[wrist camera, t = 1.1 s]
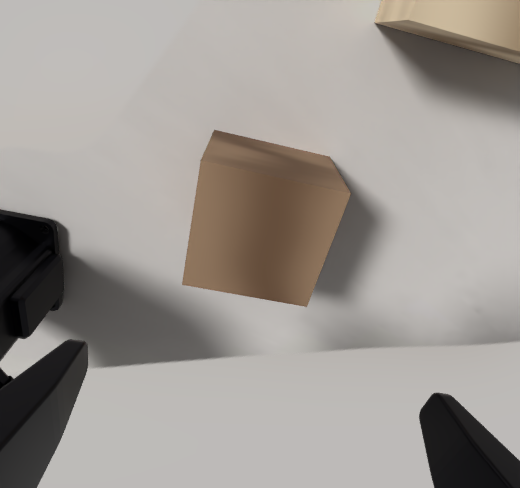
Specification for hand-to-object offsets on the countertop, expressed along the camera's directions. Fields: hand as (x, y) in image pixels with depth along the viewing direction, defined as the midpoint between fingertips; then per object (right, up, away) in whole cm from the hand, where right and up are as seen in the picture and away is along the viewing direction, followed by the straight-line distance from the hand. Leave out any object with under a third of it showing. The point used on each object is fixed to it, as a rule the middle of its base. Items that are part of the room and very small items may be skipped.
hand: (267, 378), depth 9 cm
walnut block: (0, +6, +10) cm, 12 cm away
